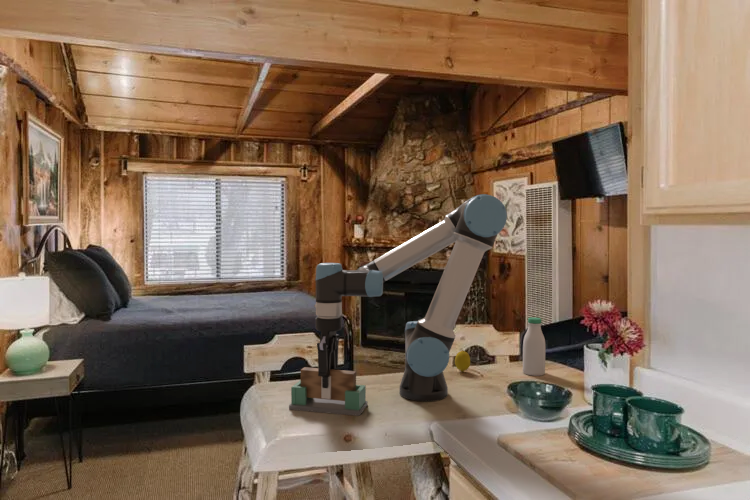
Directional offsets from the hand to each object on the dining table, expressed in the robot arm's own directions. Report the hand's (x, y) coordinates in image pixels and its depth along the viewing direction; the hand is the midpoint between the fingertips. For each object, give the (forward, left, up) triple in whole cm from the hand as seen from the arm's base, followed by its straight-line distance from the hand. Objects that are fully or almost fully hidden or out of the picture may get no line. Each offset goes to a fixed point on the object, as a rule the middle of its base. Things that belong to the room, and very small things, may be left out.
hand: (328, 396), depth 154 cm
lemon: (-35, -47, -4) cm, 59 cm away
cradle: (0, 0, -3) cm, 3 cm away
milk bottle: (-60, -52, -4) cm, 80 cm away
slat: (0, 0, 0) cm, 0 cm away
